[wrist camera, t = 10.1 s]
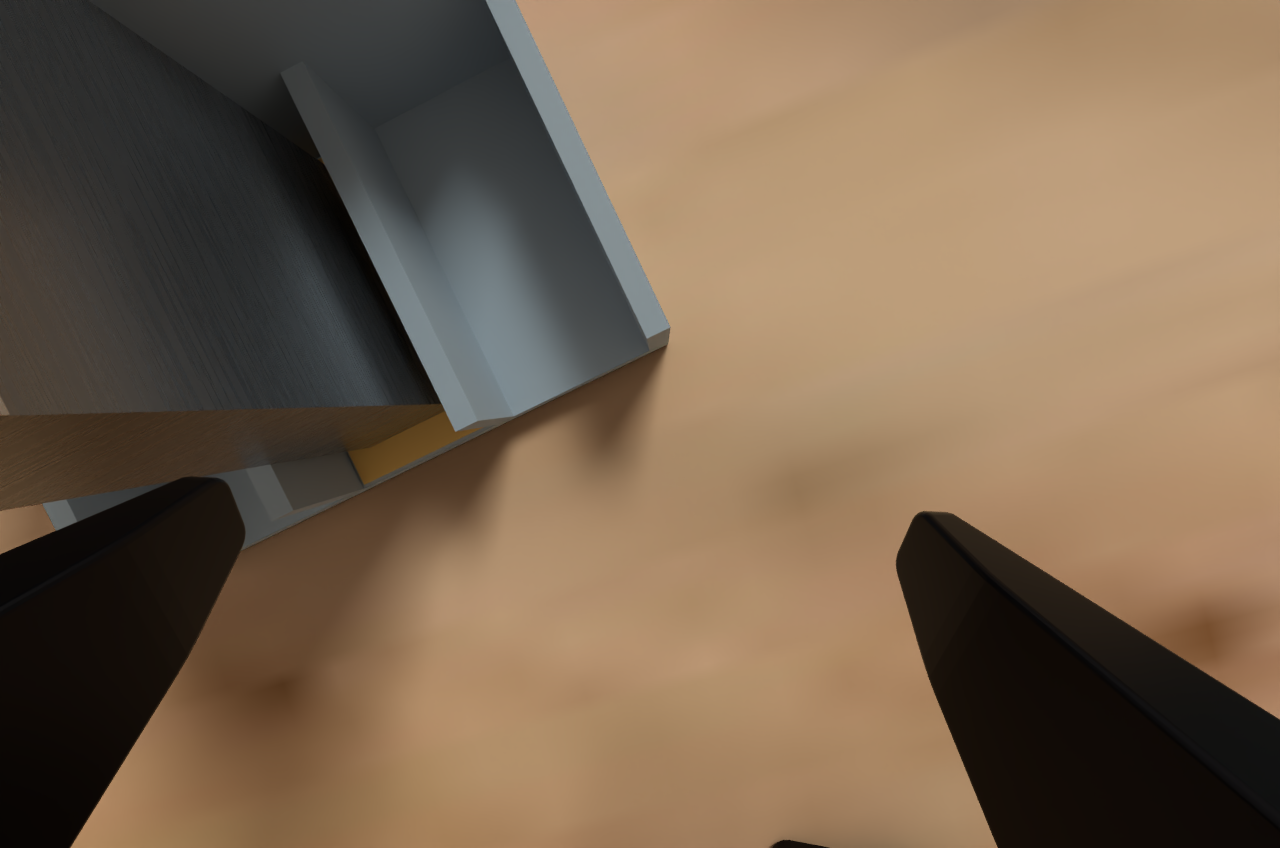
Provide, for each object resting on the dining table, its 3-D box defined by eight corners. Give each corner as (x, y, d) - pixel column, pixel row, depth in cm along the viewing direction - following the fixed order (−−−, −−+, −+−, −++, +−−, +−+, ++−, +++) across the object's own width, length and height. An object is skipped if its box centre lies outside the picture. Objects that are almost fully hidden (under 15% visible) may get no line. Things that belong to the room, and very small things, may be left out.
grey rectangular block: (461, 403, 16) (-116, 417, 4) (369, 447, 16) (-438, 586, 4) (353, 184, 16) (-571, -461, 4) (262, 231, 16) (-895, -254, 4)
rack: (668, 344, 17) (686, 216, 5) (223, 559, 18) (-668, 888, 6) (525, 44, 16) (186, -846, 5) (81, 277, 17) (-1154, 20, 6)
